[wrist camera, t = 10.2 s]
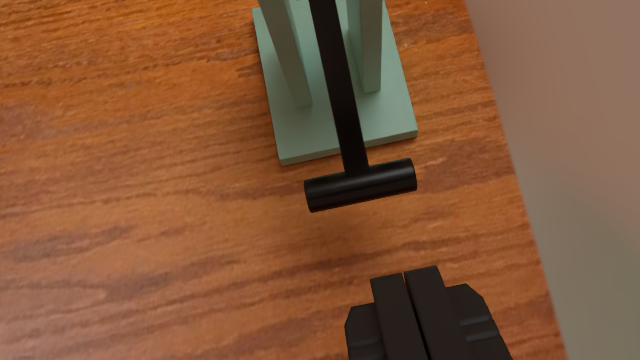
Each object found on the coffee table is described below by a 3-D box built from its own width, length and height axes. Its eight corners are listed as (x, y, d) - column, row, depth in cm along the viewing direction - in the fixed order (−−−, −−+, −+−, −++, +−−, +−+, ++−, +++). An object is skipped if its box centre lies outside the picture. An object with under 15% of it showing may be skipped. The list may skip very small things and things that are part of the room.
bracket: (416, 137, 32) (442, 17, 20) (282, 166, 33) (226, 65, 20) (378, -10, 35) (380, -194, 23) (255, 18, 35) (191, -148, 23)
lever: (412, 183, 27) (421, 197, 25) (310, 205, 27) (310, 220, 25) (362, -84, 24) (367, -98, 22) (249, -58, 24) (243, -69, 22)
